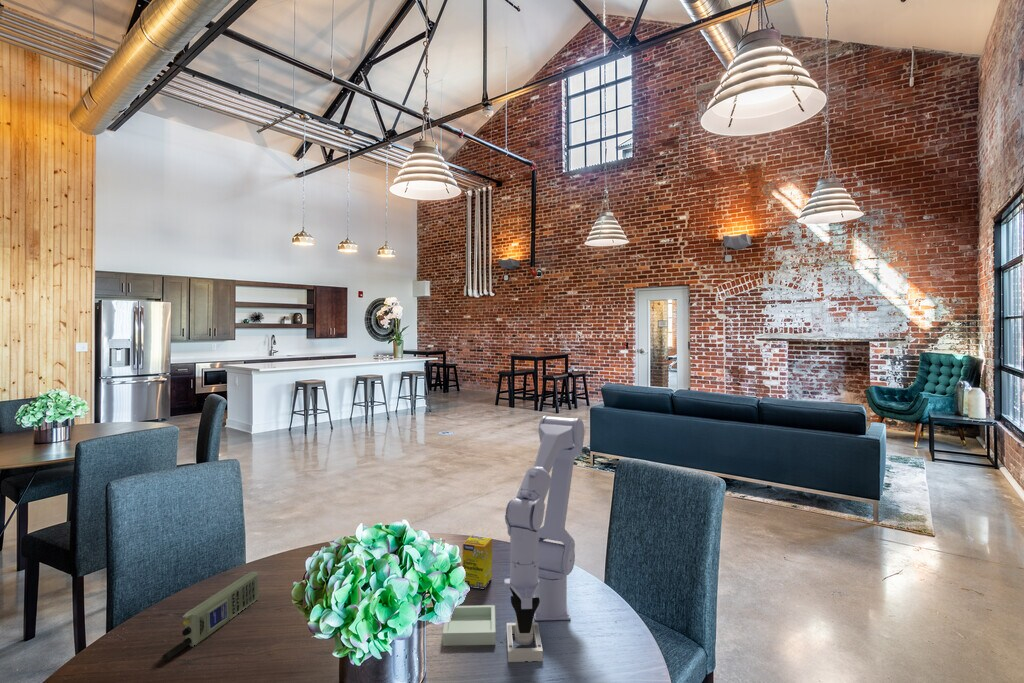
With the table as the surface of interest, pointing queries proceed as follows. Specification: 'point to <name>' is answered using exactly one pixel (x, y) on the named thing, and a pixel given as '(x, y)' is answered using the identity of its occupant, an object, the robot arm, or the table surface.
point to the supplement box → (477, 561)
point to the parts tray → (470, 626)
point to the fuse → (523, 636)
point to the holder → (524, 653)
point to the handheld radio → (217, 611)
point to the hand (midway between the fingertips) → (523, 626)
